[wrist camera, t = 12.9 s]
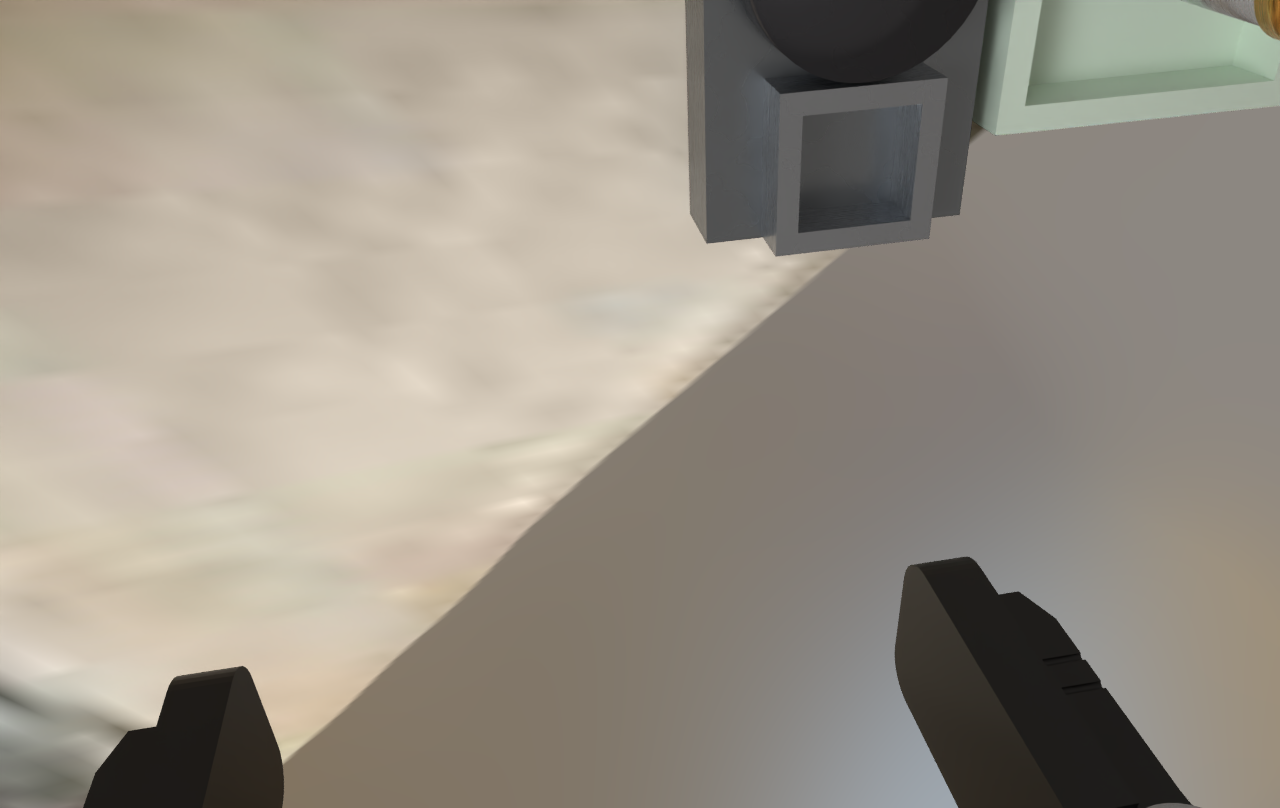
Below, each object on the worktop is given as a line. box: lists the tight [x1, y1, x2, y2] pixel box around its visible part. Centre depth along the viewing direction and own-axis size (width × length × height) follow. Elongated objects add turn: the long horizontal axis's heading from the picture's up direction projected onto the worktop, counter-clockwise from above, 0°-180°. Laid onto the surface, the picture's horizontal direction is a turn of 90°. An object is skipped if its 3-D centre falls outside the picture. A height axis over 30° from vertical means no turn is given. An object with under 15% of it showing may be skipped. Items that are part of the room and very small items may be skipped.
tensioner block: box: [685, 0, 988, 256], centre depth 34 cm, size 14×10×6 cm
